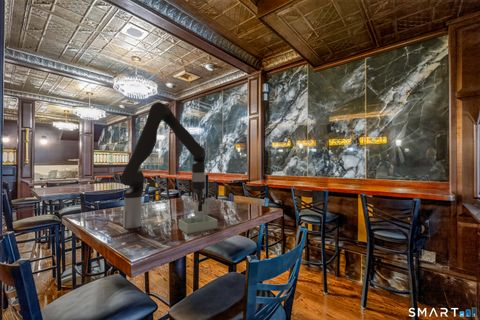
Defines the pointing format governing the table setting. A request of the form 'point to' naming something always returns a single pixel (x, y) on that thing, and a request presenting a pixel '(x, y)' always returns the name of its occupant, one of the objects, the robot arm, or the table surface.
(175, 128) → the robot arm
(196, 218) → the block
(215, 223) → the tote
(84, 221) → the table surface
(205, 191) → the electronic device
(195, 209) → the jar
